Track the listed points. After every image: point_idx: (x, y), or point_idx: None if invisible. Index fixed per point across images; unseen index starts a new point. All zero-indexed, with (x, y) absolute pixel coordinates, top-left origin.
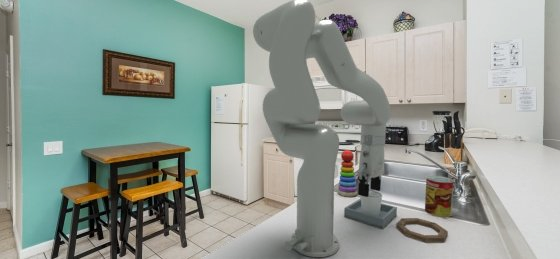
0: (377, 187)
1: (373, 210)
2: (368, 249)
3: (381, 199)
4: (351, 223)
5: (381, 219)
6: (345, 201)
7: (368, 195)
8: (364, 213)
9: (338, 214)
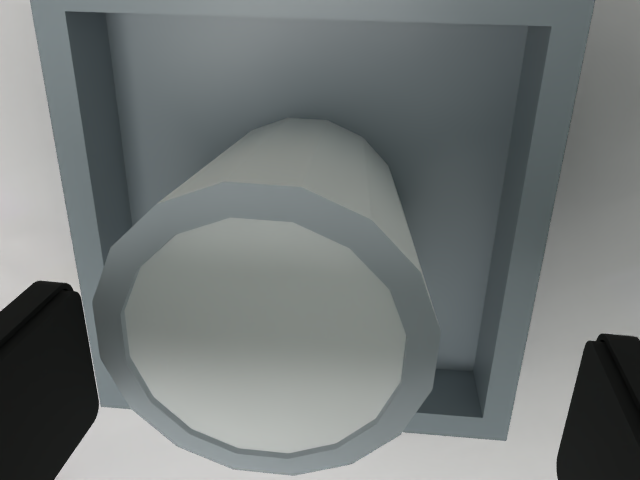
0: (55, 345)
1: (388, 183)
2: None
3: (245, 165)
4: (600, 281)
5: (590, 11)
6: (142, 476)
7: (618, 342)
8: (535, 238)
9: None
